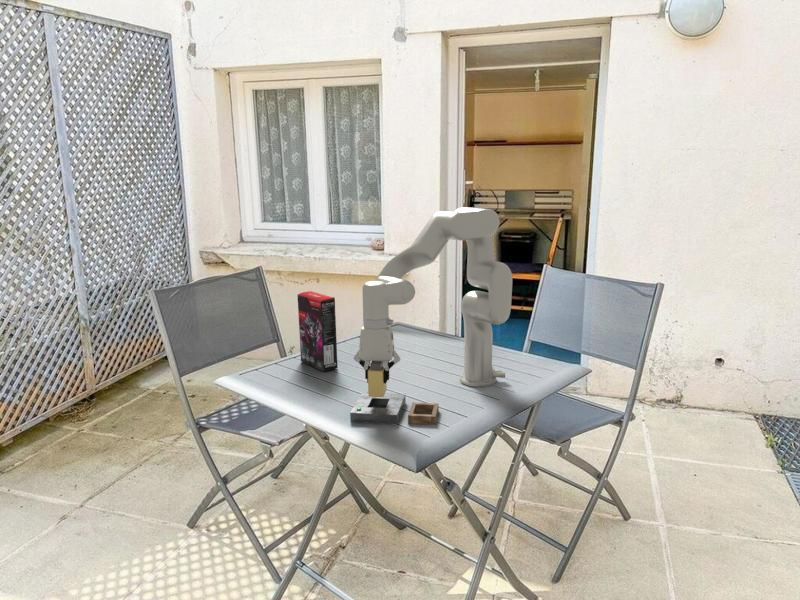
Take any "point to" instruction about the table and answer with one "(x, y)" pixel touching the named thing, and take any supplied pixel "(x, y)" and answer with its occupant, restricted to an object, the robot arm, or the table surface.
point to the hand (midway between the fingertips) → (377, 380)
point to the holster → (423, 418)
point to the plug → (376, 379)
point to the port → (378, 409)
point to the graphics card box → (317, 330)
